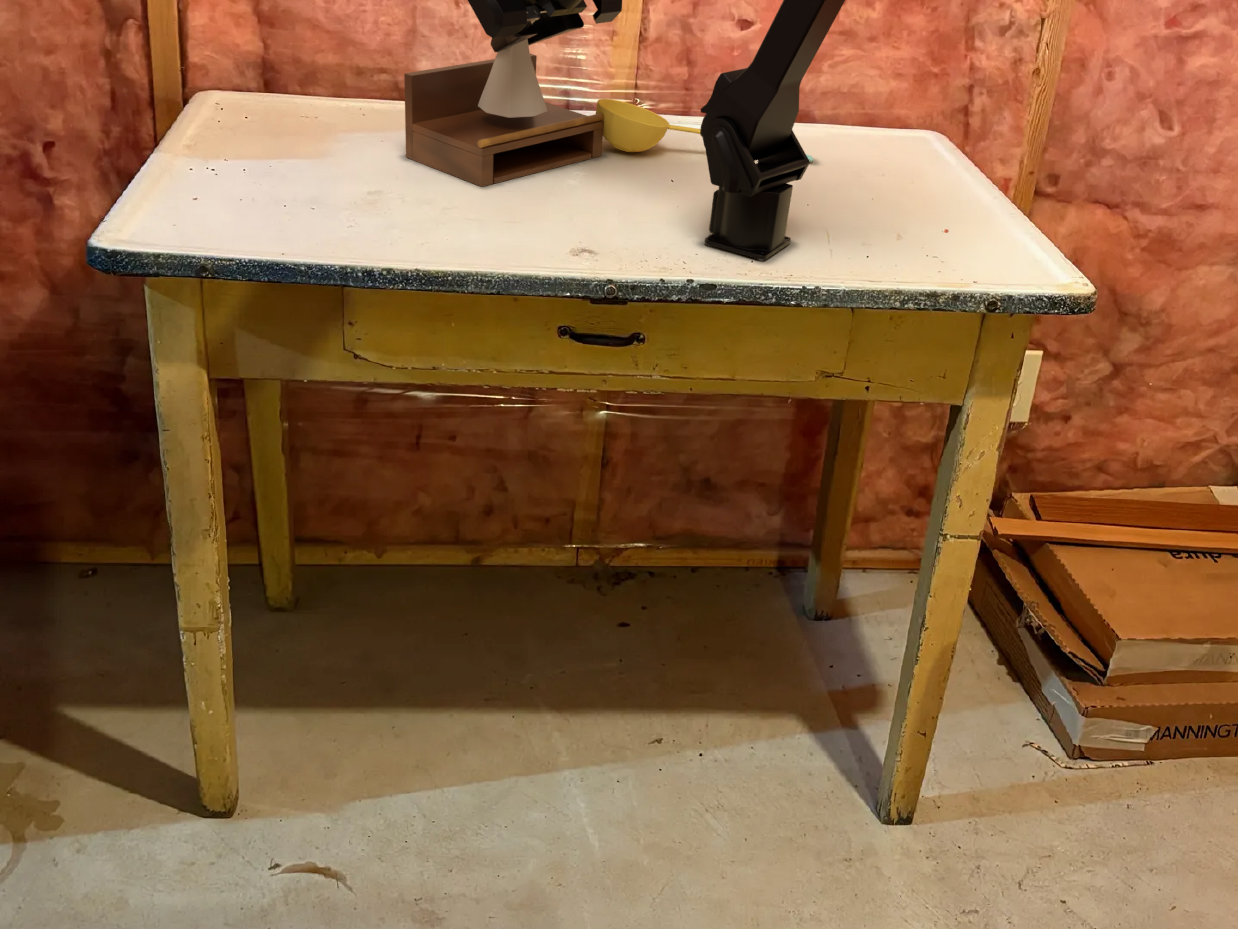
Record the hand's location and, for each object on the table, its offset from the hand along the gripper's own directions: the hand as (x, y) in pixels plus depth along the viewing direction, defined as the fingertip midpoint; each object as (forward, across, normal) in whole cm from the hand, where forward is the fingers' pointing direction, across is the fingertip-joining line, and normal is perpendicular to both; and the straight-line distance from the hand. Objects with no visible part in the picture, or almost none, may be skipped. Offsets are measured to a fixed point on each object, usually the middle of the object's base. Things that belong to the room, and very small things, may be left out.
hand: (504, 46), depth 123 cm
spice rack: (+8, 0, +9) cm, 12 cm away
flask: (+4, 0, +6) cm, 7 cm away
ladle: (-1, -20, +18) cm, 27 cm away
